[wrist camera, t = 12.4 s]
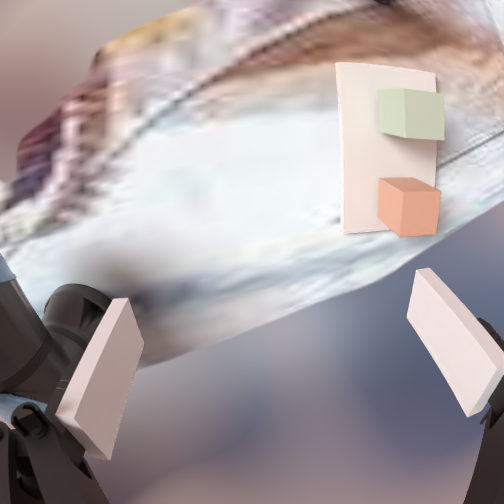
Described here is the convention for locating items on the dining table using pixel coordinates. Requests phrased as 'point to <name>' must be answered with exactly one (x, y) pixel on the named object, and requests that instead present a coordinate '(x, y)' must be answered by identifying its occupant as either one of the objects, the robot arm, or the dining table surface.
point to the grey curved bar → (383, 1)
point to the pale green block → (411, 113)
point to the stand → (383, 156)
